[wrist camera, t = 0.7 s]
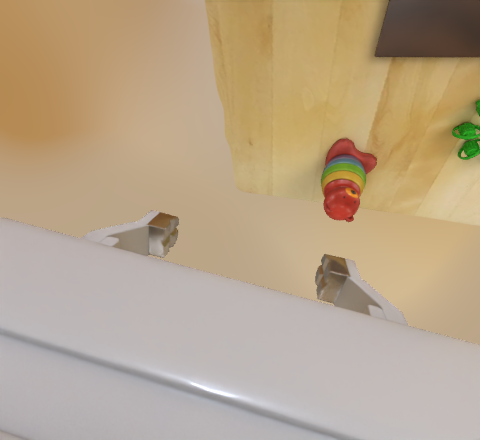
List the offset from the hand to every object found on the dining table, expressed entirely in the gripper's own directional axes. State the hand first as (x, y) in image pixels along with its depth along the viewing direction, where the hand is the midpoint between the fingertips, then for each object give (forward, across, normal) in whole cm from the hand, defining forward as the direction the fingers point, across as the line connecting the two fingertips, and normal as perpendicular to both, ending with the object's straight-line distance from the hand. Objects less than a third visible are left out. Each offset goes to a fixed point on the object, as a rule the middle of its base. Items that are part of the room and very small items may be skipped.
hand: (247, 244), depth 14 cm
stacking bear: (+53, -17, +4) cm, 56 cm away
